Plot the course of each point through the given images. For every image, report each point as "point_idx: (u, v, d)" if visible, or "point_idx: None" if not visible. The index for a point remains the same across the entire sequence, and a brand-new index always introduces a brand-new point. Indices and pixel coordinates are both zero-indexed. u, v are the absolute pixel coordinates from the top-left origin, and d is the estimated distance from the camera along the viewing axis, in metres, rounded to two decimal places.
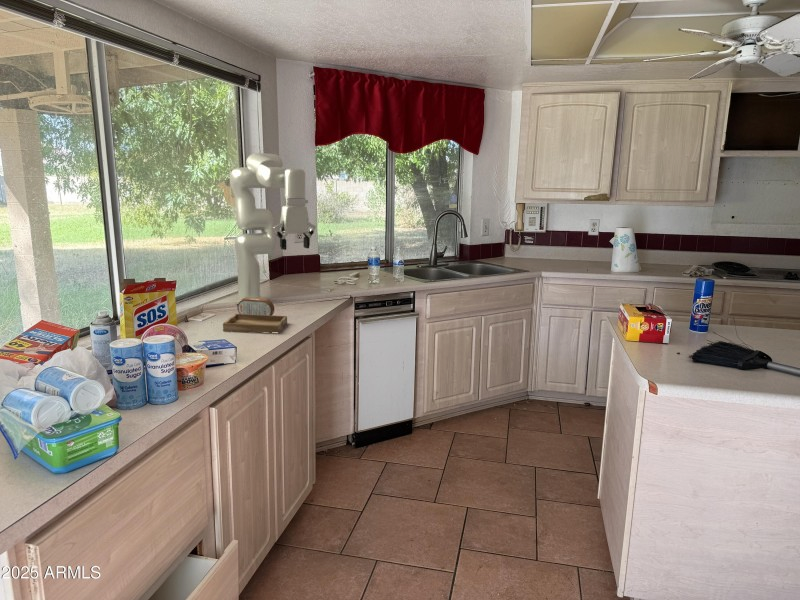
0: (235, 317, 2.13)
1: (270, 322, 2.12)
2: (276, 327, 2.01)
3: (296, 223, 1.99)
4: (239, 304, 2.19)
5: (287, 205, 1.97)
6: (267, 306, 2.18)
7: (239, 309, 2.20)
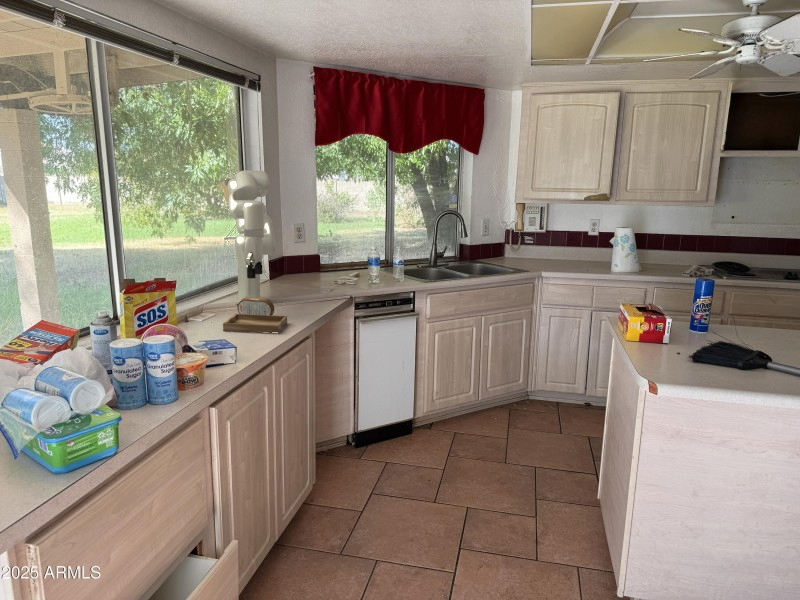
0: (235, 317, 2.13)
1: (270, 322, 2.12)
2: (276, 327, 2.01)
3: (260, 252, 2.14)
4: (239, 304, 2.19)
5: (253, 236, 2.10)
6: (267, 306, 2.18)
7: (239, 309, 2.20)
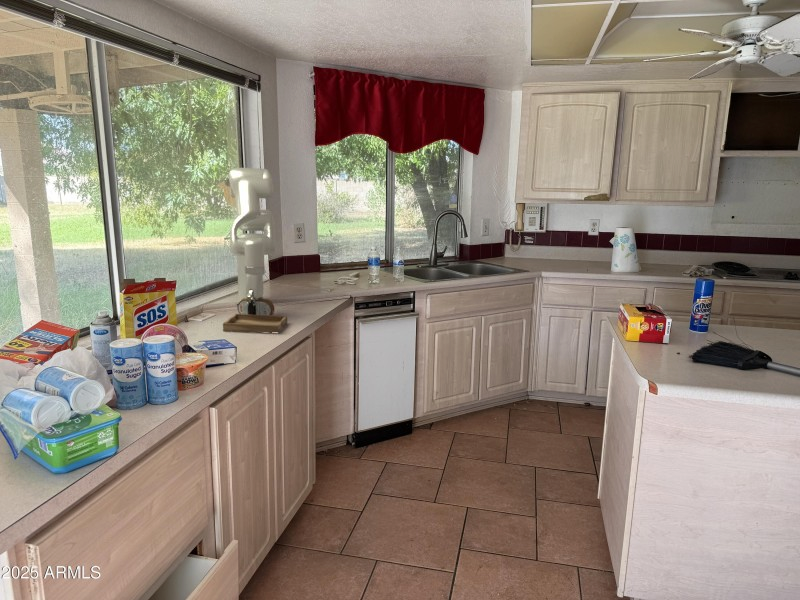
0: (235, 317, 2.13)
1: (270, 322, 2.12)
2: (276, 327, 2.01)
3: (260, 289, 2.17)
4: (239, 304, 2.19)
5: (254, 274, 2.13)
6: (267, 306, 2.18)
7: (239, 309, 2.20)
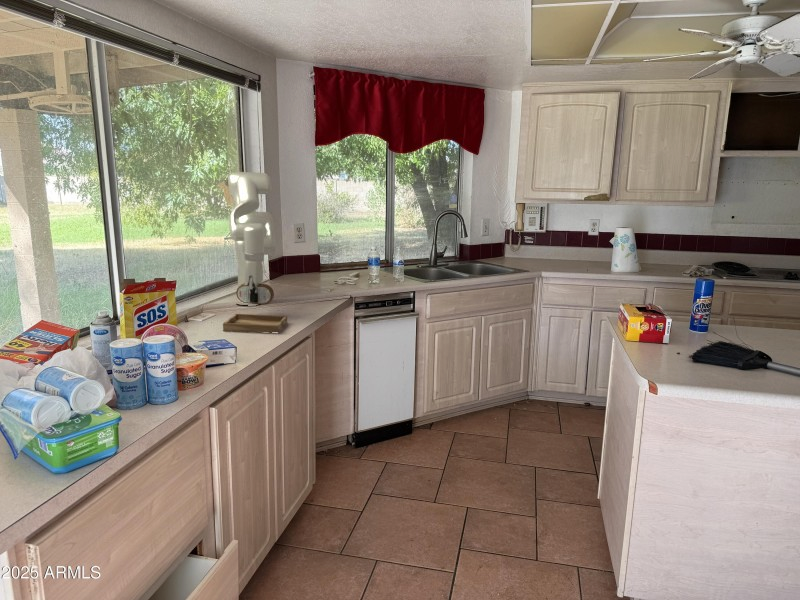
0: (235, 317, 2.13)
1: (270, 322, 2.12)
2: (276, 327, 2.01)
3: (260, 275, 2.17)
4: (238, 289, 2.18)
5: (254, 261, 2.13)
6: (267, 291, 2.18)
7: (238, 294, 2.19)
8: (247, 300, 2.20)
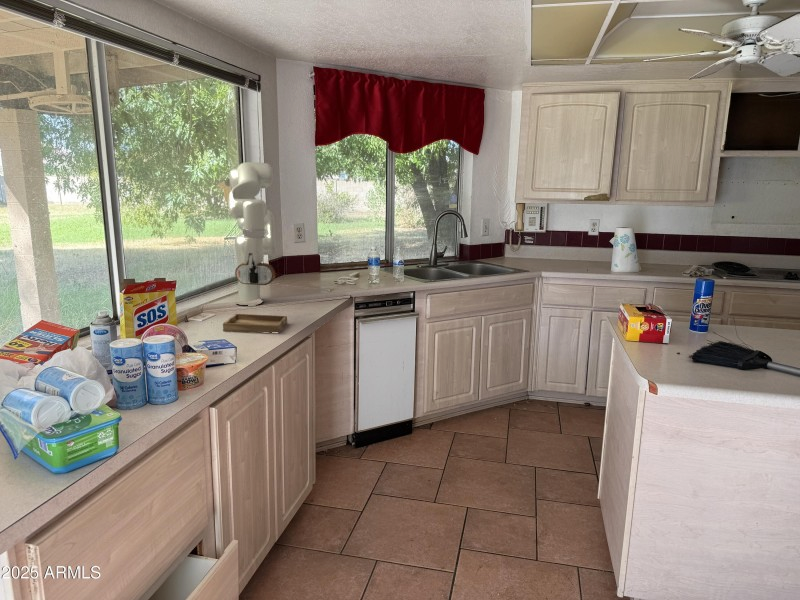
0: (235, 317, 2.13)
1: (270, 322, 2.12)
2: (276, 327, 2.01)
3: (260, 254, 2.03)
4: (237, 269, 2.04)
5: (253, 237, 1.99)
6: (267, 270, 2.04)
7: (237, 275, 2.05)
8: (247, 281, 2.05)
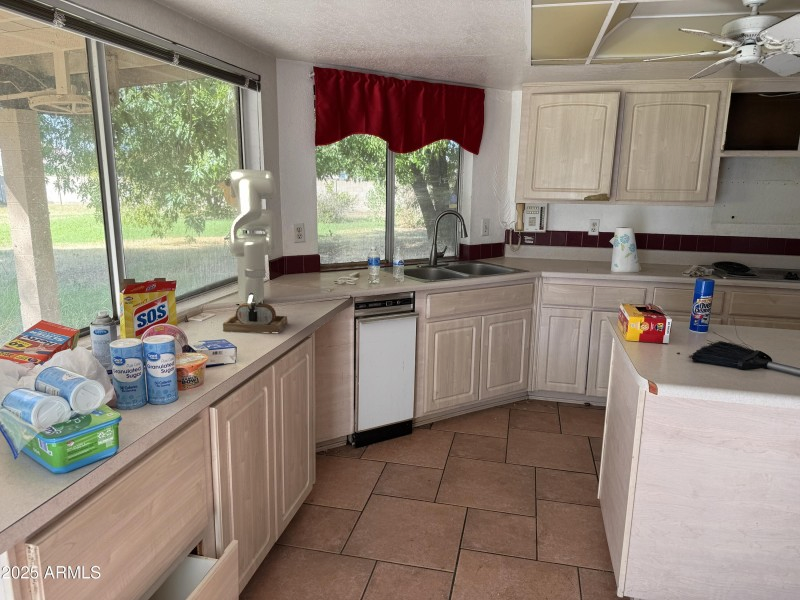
0: (235, 317, 2.13)
1: None
2: (276, 327, 2.01)
3: (261, 293, 2.05)
4: (238, 310, 2.06)
5: (254, 277, 2.00)
6: (268, 312, 2.06)
7: (238, 315, 2.07)
8: (247, 321, 2.07)
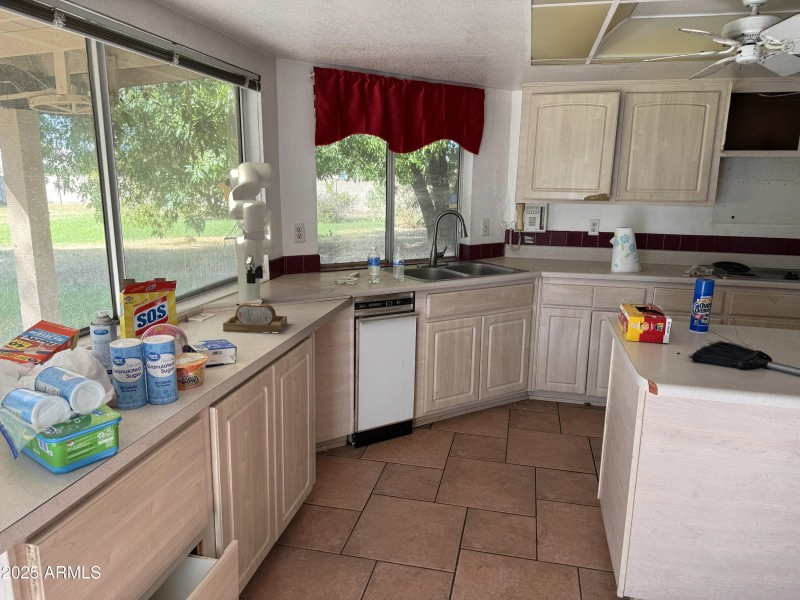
0: (235, 317, 2.13)
1: None
2: (276, 327, 2.01)
3: (260, 256, 2.01)
4: (238, 310, 2.06)
5: (253, 239, 1.97)
6: (268, 312, 2.06)
7: (238, 315, 2.07)
8: (247, 321, 2.07)
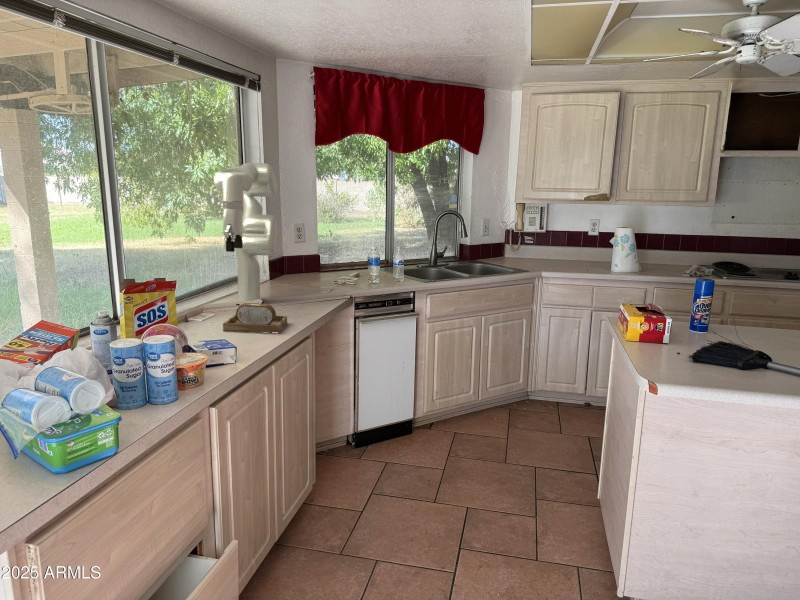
0: (235, 317, 2.13)
1: None
2: (276, 327, 2.01)
3: (239, 225, 2.09)
4: (238, 310, 2.06)
5: (232, 208, 2.05)
6: (268, 312, 2.06)
7: (238, 315, 2.07)
8: (247, 321, 2.07)
